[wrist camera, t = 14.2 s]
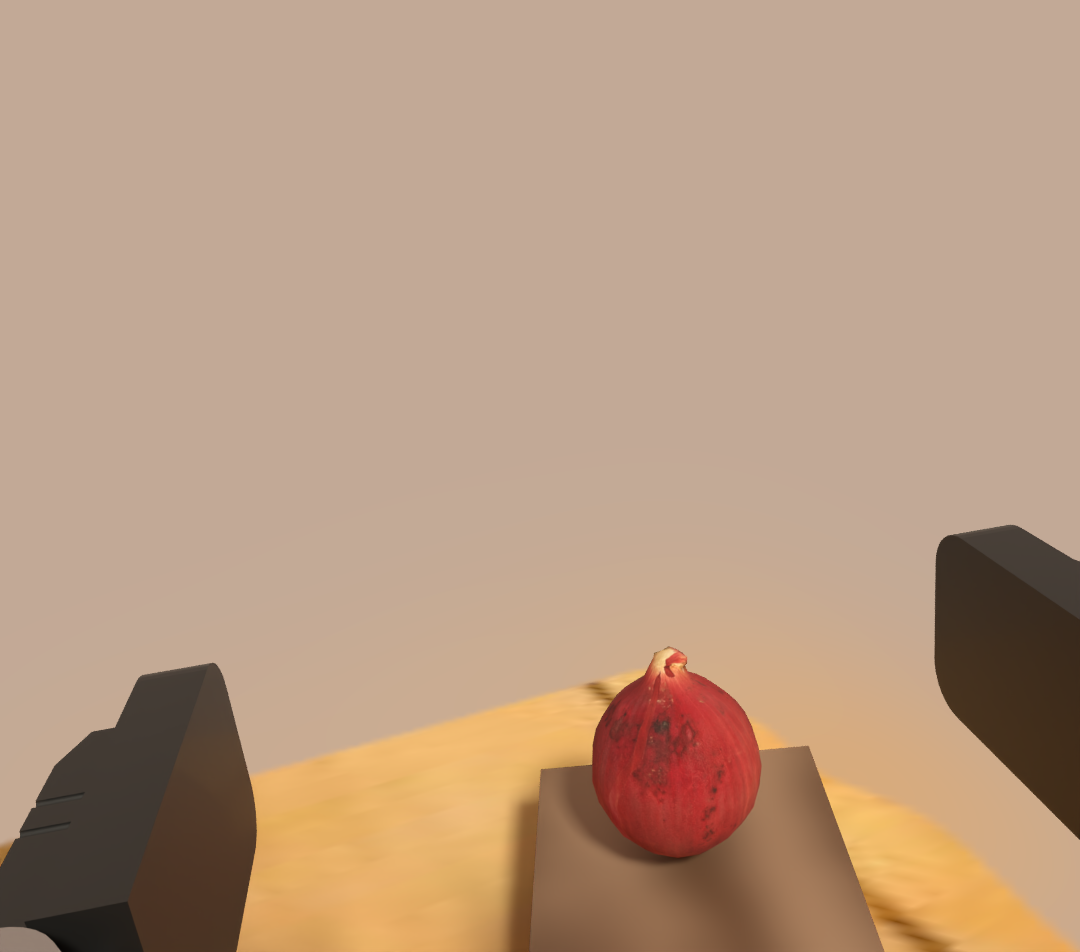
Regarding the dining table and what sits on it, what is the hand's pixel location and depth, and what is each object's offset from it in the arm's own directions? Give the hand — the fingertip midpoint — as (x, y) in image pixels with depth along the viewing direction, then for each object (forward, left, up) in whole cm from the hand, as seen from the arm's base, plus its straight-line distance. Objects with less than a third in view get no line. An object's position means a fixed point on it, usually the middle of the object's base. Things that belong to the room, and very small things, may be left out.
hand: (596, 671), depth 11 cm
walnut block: (+1, +20, -24) cm, 31 cm away
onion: (+1, +20, -19) cm, 28 cm away
